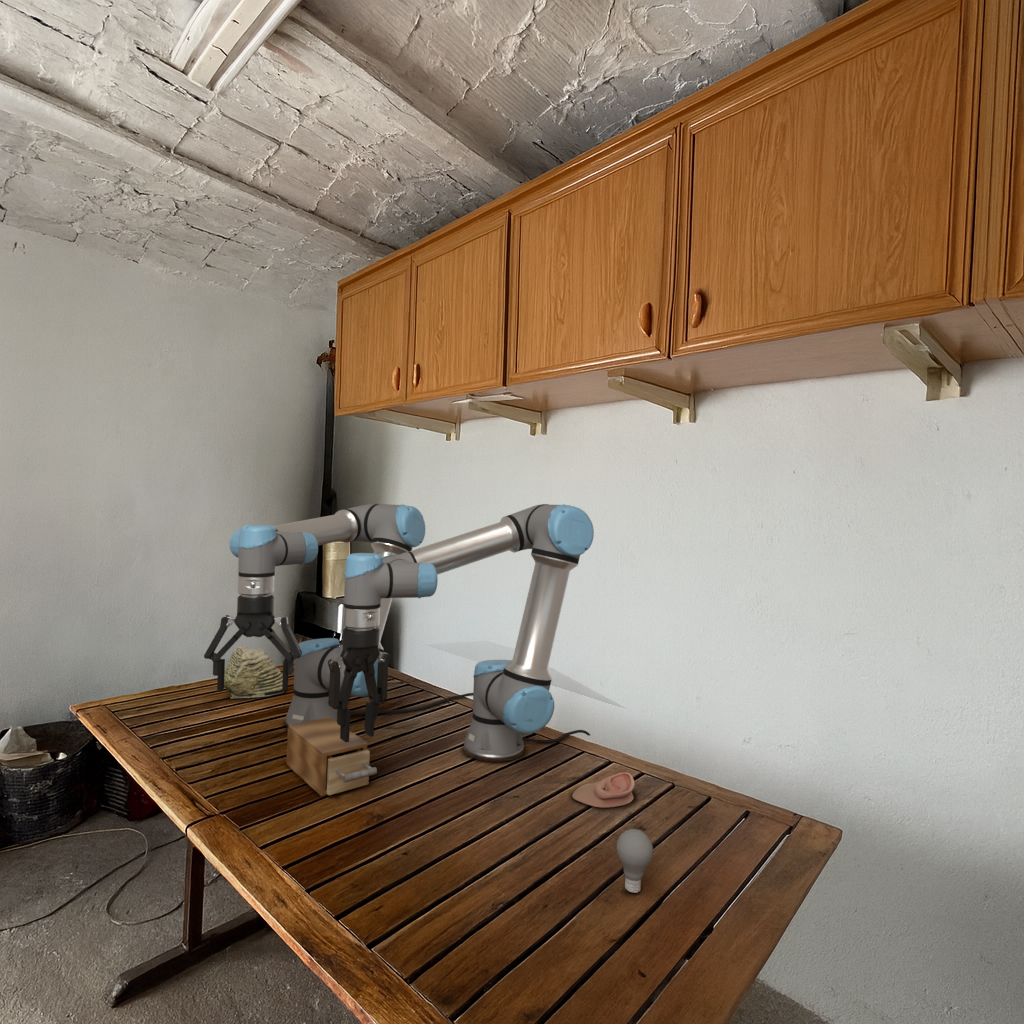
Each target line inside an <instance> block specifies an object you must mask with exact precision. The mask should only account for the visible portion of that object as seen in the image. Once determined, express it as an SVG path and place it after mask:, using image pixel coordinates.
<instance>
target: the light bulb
mask: <svg viewBox="0 0 1024 1024" xmlns="http://www.w3.org/2000/svg"><path fill="white" fill-rule="evenodd" d="M615 849H616V854H617V857H618V859H619V861H620V863H621V865H622V867H623V873H624V874H623V875H624V876H625V878H624V888H625V890H627V891H628V892H630V893H634V894H635V893H639V892H640V891H641V889H642V887H641V886H642V879H643V877H644V875H645V871H646V868H647V867H648V866H649V864H650V863H651V861H652V859H653V855H654V847H653V843H652V841H651V838H649V836H648V835H647V834H646V833H645V832H643V831H642V830H641V829H636V828H629V829H627V830H625V831H623V832H622V833H621V834H620V835H619V837H618V839H617V841H616V847H615Z"/></svg>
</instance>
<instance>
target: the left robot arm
mask: <svg viewBox="0 0 1024 1024" xmlns="http://www.w3.org/2000/svg"><path fill="white" fill-rule="evenodd" d="M425 536H426V522H425V519H424V516H423V514H422V512H421V511H420V510H419V509H418V508H417V507H415V506H413V505H406V504H388V503H387V504H386V503H367V504H363V505H358V506H353V507H348V508H345V509H340V510H337V511H336V512H335V513H334V514H331V515H327V516H326V515H325V516H320V517H315V518H309V519H304V520H297V521H293V522H292V521H291V522H288V523H282V524H276V525H269V524H246V525H245V524H244V525H243V526H242V527H241V528H239V529H237V530H235V531H234V532H233V533H232V534H231V536H230V538H229V550H230V552H231V554H232V555H233V556H234V557H236V558H238V568H237V569H238V574H237V594H239V595H238V596H237V600H236V601H237V602H236V616H230V615H229V614H225V615H224V616H222V617H221V619H220V624H219V628H218V630H217V631H216V633H215V634H214V636H213V638H212V640H211V642H210V643H209V645H208V647H207V649H206V651H205V652H204V654H203V658H204V659H205V660H206V659H208V660H211V661H212V675H213V676H215V677H216V676H217V677H216V678H217V683H216V692H217V693H221V692H222V691H223V690H224V689H225V687H224V675H225V668H226V658H223V656H224V655H225V654H226V653H227V652H228V651H229V650H230V649H231V648H232V647H233V645H235V643H237V641H238V640H239V639H241V637H242V636H244V637H246V638H253V637H255V638H262V637H265V638H266V639H267V640H269V641H270V642H271V644H272V645H273V646H274V647H275V648H276V649H277V650H278V652H279V653H280V654H281V655H282V656H283V658H284V660H283V662H282V675H283V681H282V691H284V692H286V691H287V689H288V688H289V676H291V675H292V674H293V695H292V696H293V697H292V699H291V702H290V704H289V708H288V711H287V713H286V715H285V726H286V728H288V725H292V724H297V723H302V722H307V721H312V720H317V719H322V718H327V717H330V718H332V719H333V720H335V721H336V722H337V709H333V708H332V707H330V706H329V705H328V702H329V681H330V669H329V666H328V660H329V659H332V660H334V659H336V658H338V657H340V654H341V652H342V650H343V646H342V639H341V641H340V640H339V639H338V638H335V637H324V638H323V637H322V638H313V639H308V640H304V641H302V642H298V640H297V639H296V637H295V634H294V632H293V630H292V628H291V626H290V619H289V615H286V614H285V615H283V616H277V617H276V616H275V614H274V610H275V609H274V608H275V607H274V605H275V596H274V595H273V593H275V577H276V576H275V574H276V567H280V566H293V565H300V566H301V565H304V564H308V563H311V562H313V561H314V560H315V559H316V558H317V556H318V553H319V546H323V545H327V544H331V543H332V544H333V543H336V542H341V543H346V544H347V543H351V542H360V543H361V542H363V543H370V547H371V549H372V550H373V553H374V554H380V555H381V556H382V557H384V556H388V555H394V556H396V555H399V554H402V553H406V552H409V551H412V550H413V548H416V547H419V546H420V545H421V544H422V543H423V542H424V540H425ZM392 601H393V598H381V602H380V604H381V605H380V624H379V626H377V627H378V628H379V644H378V649H379V651H380V652H384V650H385V649H384V647H383V645H382V643H381V640H382V637H383V633H384V630H385V626H386V622H387V620H388V615H389V613H390V609H391V605H392V603H393V602H392ZM233 624H235V626H236V627H237V629H238V630H237V631H236V632H235V633H234V634H233V636H231V638H229V640H228V641H227V642H226V643H225V644H224V645H223V646H222V647H221V648H220V649H219V651H218V652H216V649H217V648H218V647H219V644H220V643H221V641H222V639H223V637H224V636H225V634H226V632H227V630H228V628H229V627H231V626H232V625H233ZM275 624H277V626H278V627H279V628H281V631H282V633H283V635H284V637H285V638H286V640H287V643H288V645H289V647H290V648H289V647H288V646H287V645H286V644H285V643H284V641H283V640H282V639H281V638H280V637H279V636H278V634H277V633H276V631H275V630H274V629H273V626H274V625H275ZM290 649H291V650H290ZM373 665H374V670H375V674H374V675H375V680H376V685H377V671H378V659H377V660H376V661H375V663H374V664H373ZM341 666H342V667H341V669H340V690H341V686H342V683H343V679H344V671H345V667H346V666H345V665H344V663H343V662H342V664H341ZM471 696H472V697H473V692H468V693H464V694H463V693H462V694H458V695H451V696H449V697H445V698H442V699H440V700H437V701H433V702H431V703H428V704H426V705H421V706H417V707H410V708H399V709H387V710H378V715H387V714H397V713H407V712H409V713H410V712H415V711H421V710H426V709H428V708H431V707H433V706H437V705H439V704H442V703H446V702H448V701H451V700H454V699H455V700H456V699H462V698H465V697H467V698H468V697H471ZM350 697H358V698H367V697H369V696H368V691H367V686H366V681H365V677H364V673H363V671H361V672H359V673H357V677H356V678H355V680H354V683H353V687H352V691H351V695H350ZM351 715H352V716H353V715H354V716H365V711H350V716H351Z"/></svg>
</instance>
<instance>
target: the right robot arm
mask: <svg viewBox="0 0 1024 1024" xmlns="http://www.w3.org/2000/svg"><path fill="white" fill-rule="evenodd" d="M594 537H595V530H594V524H593V521H592V520H591V518H590V517H589V515H588V513H586V511H585V510H583V509H581V508H580V507H577V506H574V505H571V504H549V503H542V504H541V503H540V504H536V505H534V506H530V507H527V508H524V509H522V510H519V511H516V512H514V513H510V514H508V515H504V516H503V517H501V518H500V521H499V522H496V523H492V524H489V525H486V526H483V527H480V528H477V529H473V530H471V531H468V532H465V533H461V534H459V535H455V536H452V537H449V538H446V539H443V540H440V541H437V542H434V543H431V544H430V543H429V544H428V545H424V546H421V547H418V548H415V549H412V551H409V552H406V553H402V554H399V555H396V556H394V555H388V556H384V557H382V556H381V555H380V554H374V552H355V553H350V554H349V555H348V556H347V557H346V560H345V570H344V589H343V590H344V591H343V614H342V626H343V629H342V638H341V640H342V646H343V650H342V652H341V654H340V657H338V658H336V659H334V660H332V659H329V660H328V666H329V669H330V681H329V702H328V705H329V706H330V707H332V708H333V709H337V724H338V725H340V739H342V740H343V741H344V742H349V733H350V731H351V715H350V712H351V710H350V709H349V708H348V705H349V701H350V699H351V696H350V695H351V691H352V687H353V683H354V680H355V678H356V677H357V673H359V672H361V671H363V673H364V677H365V681H366V686H367V691H368V696H367V697H368V700H369V701H367V702H365V711H364V712H365V715H364V734H365V735H367V736H369V737H370V738H371V737H374V736H375V720H376V719H378V716H379V714H378V711H379V706H381V704H382V701H386V700H387V698H388V688H389V687H388V684H389V665H390V661H391V658H392V655H391V654H390V653H387V652H385V651H383V652H380V651H379V649H378V644H379V628H378V627H377V626H379V624H380V605H381V604H380V602H381V598H392V599H408V598H411V599H412V598H414V599H416V598H417V599H421V598H429V597H432V596H434V595H435V594H436V591H437V588H438V580H439V579H438V575H441V574H444V573H446V572H450V571H452V570H455V569H459V568H461V567H464V566H467V565H471V564H473V563H476V562H479V561H482V560H485V559H488V558H491V557H494V556H497V555H499V554H503V553H505V552H508V551H510V552H511V553H518V552H522V551H526V550H531V552H530V556H531V557H532V559H533V561H534V567H533V571H532V575H531V580H530V584H529V588H528V593H527V596H526V600H525V601H526V602H525V605H524V609H523V614H522V619H521V623H520V627H519V631H518V635H517V638H516V642H515V643H516V644H515V647H514V651H513V657H512V659H487V660H480V661H479V662H477V663H476V664H475V666H474V672H473V691H472V693H473V696H472V719H471V722H470V724H469V728H468V730H467V733H466V736H465V738H464V742H463V751H464V753H465V754H466V755H467V756H468V757H470V758H472V759H474V760H476V761H477V760H478V761H481V762H487V763H505V762H509V761H510V762H511V761H514V760H516V759H518V758H520V757H522V755H523V754H524V747H525V745H524V744H525V743H524V742H531V743H539V744H540V743H555V742H559V741H562V740H563V739H564V738H565V737H568V736H572V735H575V734H580V733H581V734H582V733H583V734H585V735H586V736H588V737H589V736H591V734H590V733H589V732H588V731H587V730H584V729H575V730H572V731H568V732H565V733H562V734H561V736H559V737H557V738H551V739H537V738H530V737H523V736H522V735H532V734H535V733H537V732H539V731H540V730H542V729H543V728H546V726H547V725H548V724H549V723H550V721H551V719H552V717H553V715H554V711H555V700H554V698H553V694H552V693H551V691H550V689H551V684H552V680H553V677H552V675H551V673H550V672H549V670H548V668H549V663H550V661H551V655H552V652H553V651H552V650H553V647H554V642H555V638H556V634H557V630H558V625H559V620H560V616H561V611H562V607H563V605H564V604H563V603H564V599H565V596H566V590H567V586H568V582H569V577H570V573H571V571H572V570H574V569H575V568H576V567H578V566H579V561H580V558H581V555H583V554H585V552H586V551H588V550H589V549H590V548H591V546H592V544H593V541H594ZM377 659H378V671H377V685H376V680H375V675H374V674H375V670H374V665H373V664H374V663H375V661H376V660H377ZM342 662H343V663H344V665H345V666H346V667H345V671H344V679H343V683H342V686H341V690H340V669H341V667H342V666H341V664H342Z"/></svg>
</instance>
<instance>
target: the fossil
mask: <svg viewBox="0 0 1024 1024" xmlns="http://www.w3.org/2000/svg"><path fill="white" fill-rule="evenodd" d="M282 681H283V672H281V669H279V668H278V667H277V665H276V663H275V662H274V660H273V659H272V658H271V657H270V656H269V655H268V654H267V653H266V652H265V650H264V649H263V648H260V647H258V648H251V647H247V646H246V647H245V646H238V647H237V648H236V649H235V650H233V651H232V653H231V656H230V657H229V659H228V660H227V663H226V664H225V675H224V689H225V690H226V691H228V693H229V698H230V699H250V698H264V697H271V696H275V695H281V694H284V693H285V691H282Z"/></svg>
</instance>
